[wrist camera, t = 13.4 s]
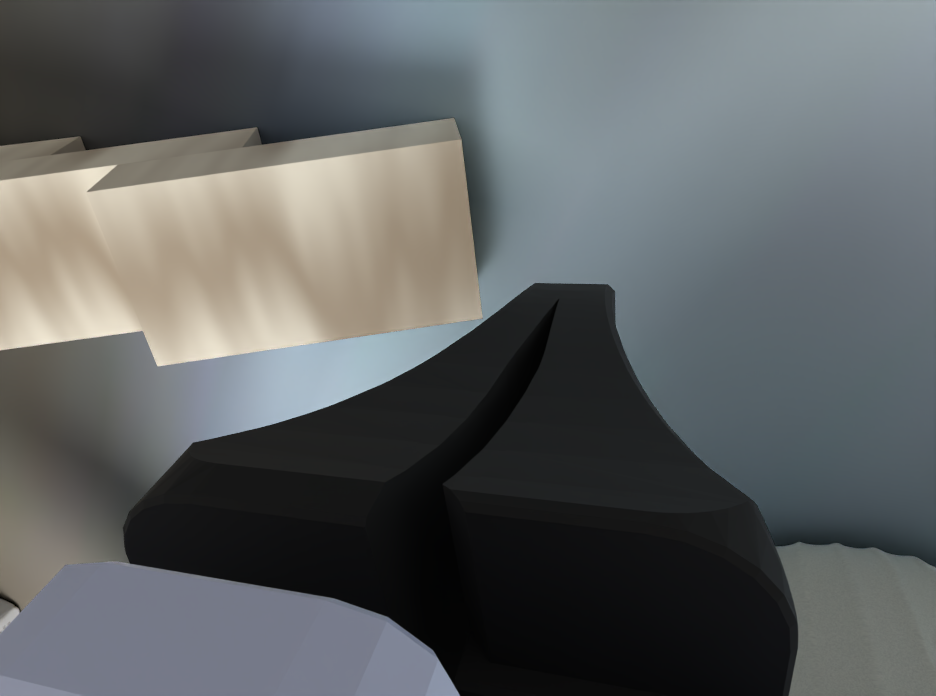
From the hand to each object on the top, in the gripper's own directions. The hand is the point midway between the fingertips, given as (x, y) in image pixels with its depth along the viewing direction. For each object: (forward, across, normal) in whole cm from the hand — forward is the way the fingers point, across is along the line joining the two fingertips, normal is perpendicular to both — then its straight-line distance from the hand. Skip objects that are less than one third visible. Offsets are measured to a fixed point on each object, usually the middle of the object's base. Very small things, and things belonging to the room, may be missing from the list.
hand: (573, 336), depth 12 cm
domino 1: (+5, +9, 0) cm, 10 cm away
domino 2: (+5, +3, 0) cm, 6 cm away
